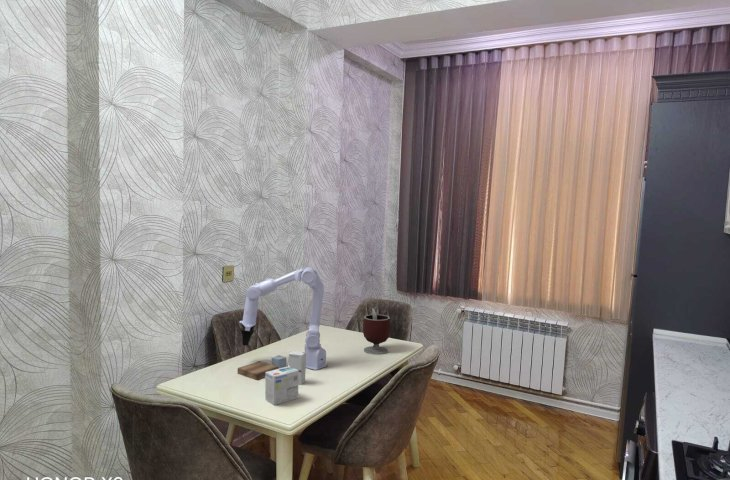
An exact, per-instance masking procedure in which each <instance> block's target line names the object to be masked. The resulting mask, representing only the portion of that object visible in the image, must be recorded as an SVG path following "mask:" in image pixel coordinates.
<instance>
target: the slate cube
mask: <svg viewBox="0 0 730 480" xmlns="http://www.w3.org/2000/svg"><path fill="white" fill-rule="evenodd" d="M271 365H274V366H277V367H278V369H280V368H283V367H287V356H283V355H275V356H273V357H271Z"/></svg>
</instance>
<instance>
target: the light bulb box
mask: <svg viewBox="0 0 730 480" xmlns="http://www.w3.org/2000/svg"><path fill="white" fill-rule="evenodd" d="M264 379H265V392H264V393H265V400H264V401H267V403H270V404H271V405H273V406H276V405H279V404H283V403H285V402H290V401H293V400H296V399H298V398H299V384H298V370H297V369H295V368H292V367H290V366H289V365H288V366H287V365H286V367H283V368H280V369H276V370H272V371H268V372H265V378H264Z"/></svg>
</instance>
